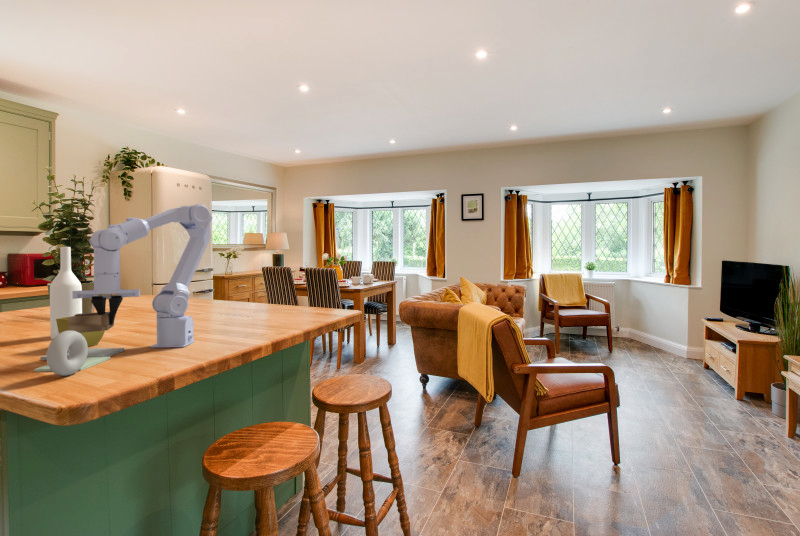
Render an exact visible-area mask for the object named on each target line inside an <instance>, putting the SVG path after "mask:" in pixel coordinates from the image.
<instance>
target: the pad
mask: <svg viewBox="0 0 800 536" xmlns="http://www.w3.org/2000/svg"><path fill="white" fill-rule="evenodd" d="M108 360H111V356H109V357H86V360H85V362H84V364H83V366H82V367H81V368H80V369H79V370H78V371H77V372H79V371H81V372H82V371H84V370H86V369H88V368H91V367H93V366H96V365H98V364H101V363H104V362H107V361H108ZM33 372H34V373H35V372H36V373H37V372H52V371H51V370H50V368H49V366H48V364H44V365H43V366H39V367H37V368H34V371H33Z"/></svg>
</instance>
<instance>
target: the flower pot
mask: <svg viewBox="0 0 800 536" xmlns="http://www.w3.org/2000/svg"><path fill="white" fill-rule="evenodd" d="M71 317H72V316H71ZM68 318H69V317H63V318H57V319H56V322H57V327H58V332H59V334H60V333H62V332H64V331H68ZM105 332H106V331H94V332H82V333H81V334H82V335H83V336H84V338H85V339H86V342H87V346H88V348H89V347H92V346H97V345H99V343H100V342H101V340H102V339H103V336H104V335H105Z"/></svg>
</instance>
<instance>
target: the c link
mask: <svg viewBox="0 0 800 536" xmlns="http://www.w3.org/2000/svg"><path fill="white" fill-rule="evenodd" d="M109 317H110V311H105V314H103V315H98V313H97V311H95V312H82V314H76V315H75V316H72V317H69V318H68V331H76V332H79V333H82V332H94V331H105V332H106V331H109V330H110V329H111V328H113V327H114V326H115V323H114V324H113V325H110V323H109Z"/></svg>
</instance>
